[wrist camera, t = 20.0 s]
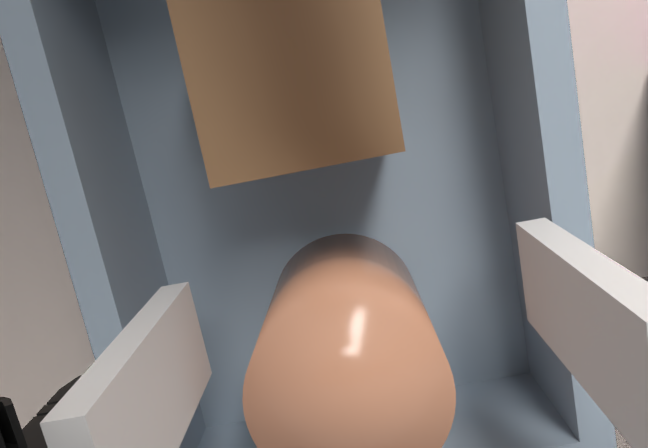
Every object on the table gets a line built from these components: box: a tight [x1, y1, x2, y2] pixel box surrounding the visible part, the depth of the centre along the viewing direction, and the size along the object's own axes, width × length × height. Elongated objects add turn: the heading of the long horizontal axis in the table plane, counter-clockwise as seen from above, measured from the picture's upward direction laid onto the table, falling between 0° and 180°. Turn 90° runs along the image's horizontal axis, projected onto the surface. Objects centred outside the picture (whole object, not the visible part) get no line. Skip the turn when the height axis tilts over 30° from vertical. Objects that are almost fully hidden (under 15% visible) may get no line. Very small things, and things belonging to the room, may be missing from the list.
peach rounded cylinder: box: [242, 234, 456, 448], centre depth 17 cm, size 5×5×7 cm
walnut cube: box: [166, 0, 405, 189], centre depth 17 cm, size 5×5×5 cm
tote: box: [0, 0, 617, 448], centre depth 18 cm, size 18×14×5 cm
